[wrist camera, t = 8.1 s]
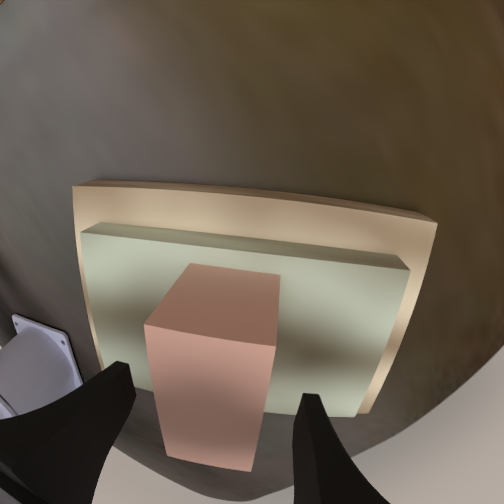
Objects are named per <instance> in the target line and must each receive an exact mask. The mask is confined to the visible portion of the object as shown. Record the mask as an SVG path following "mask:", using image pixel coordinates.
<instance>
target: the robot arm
mask: <svg viewBox="0 0 504 504" xmlns="http://www.w3.org/2000/svg"><path fill="white" fill-rule="evenodd" d="M12 319H13V322H14V325H15V328H16V331H17V335H16V336H15V337H14V338H13V339H12V340H11V341H10V342H9V343H7V344H6V345H5V346H4V347H3V348H2V349H1V350H0V504H92V500H93V496H94V492H95V488H96V485H97V482H98V479H99V476H100V473H101V470H102V468H103V465H104V462H105V460H106V457H107V455H108V453H109V451H110V449H111V447H112V445H113V443H114V442H115V440H116V438H117V436H118V434H119V432H120V431H121V429H122V427H123V425H124V423H125V421H126V420H127V418H128V416H129V414H130V411H131V409H132V406H133V403H134V401H135V398H136V392H135V388H134V384H133V379H132V375H131V371H130V366H129V364H128V363H124V362H121V361H115V362H114V363H112V364H111V365H110V366H108V367H107V368H105V369H104V370H103V371H101V372H100V373H98V374H97V375H96V376H94V377H93V378H91V379H90V380H88V381H87V382H85V383H84V384H83V382H82V379H81V376H80V374H79V371H78V368H77V365H76V362H75V359H74V356H73V353H72V349H71V346H70V343H69V339H68V336H67V335H66V333H64V332H62V331H59V330H56V329H54V328H51V327H48V326H45V325H42V324H40V323H37V322H34V321H32V320H29V319H27V318H24V317H22V316H19V315H17V314H14V315H13V316H12ZM292 448H293V469H294V504H390V503H389V502H388V501H387V500H386V499H384V498H383V497H382V496H381V495H380V493H379V492H378V491H377V490H376V489H375V488H374V487H373V486H372V485H371V484H370V483H369V482H368V481H367V479H366V478H365V477H364V476H363V474H362V473H361V472H360V471H359V469H358V468H357V467H356V465H355V464H354V462H353V461H352V459H351V458H350V456H349V455H348V453H347V452H346V450H345V448H344V447H343V445H342V443H341V441H340V440H339V438H338V436H337V434H336V432H335V430H334V428H333V426H332V424H331V422H330V420H329V417H328V415H327V413H326V411H325V408H324V406H323V403H322V400H321V398H320V395H319V394H313V393H303V394H302V398H301V401H300V404H299V408H298V411H297V414H296V417H295V421H294V427H293V442H292Z"/></svg>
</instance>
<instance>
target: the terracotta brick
mask: <svg viewBox="0 0 504 504" xmlns="http://www.w3.org/2000/svg"><path fill="white" fill-rule="evenodd" d="M279 292H280V275H278V274H270V273H262V272H255V271H247V270H239V269H232V268H224V267H217V266H209V265H202V264H195V263H190V264H189V265H188V266H187V267H186V269H185V270H184V271H183V273H182V274H181V275H180V277H179V278H178V279H177V280H176V282H175V283H174V284H173V286H172V287H171V288H170V290H169V291H168V292H167V294H166V295H165V296H164V298H163V299H162V300H161V302H160V303H159V304H158V306H157V307H156V308H155V310H154V311H153V312H152V314H151V315H150V316H149V318H148V319H147V320H146V322H145V323H144V331H145V339H146V347H147V354H148V361H149V368H150V374H151V380H152V386H153V392H154V397H155V402H156V408H157V413H158V418H159V422H160V427H161V431H162V436H163V440H164V444H165V449H166V453H167V456H171V457H175V458H179V459H183V460H187V461H191V462H196V463H201V464H206V465H211V466H216V467H222V468H228V469H234V470H241V471H249V472H251V469H252V464H253V460H254V456H255V451H256V446H257V442H258V437H259V432H260V428H261V423H262V418H263V413H264V408H265V403H266V398H267V393H268V388H269V383H270V377H271V372H272V367H273V361H274V356H275V350H276V341H277V326H278V310H279Z"/></svg>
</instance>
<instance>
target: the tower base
mask: <svg viewBox="0 0 504 504" xmlns="http://www.w3.org/2000/svg"><path fill="white" fill-rule="evenodd" d="M72 188H73V209H74V223H75V234H76V243H77V252H78V260H79V267H80V274H81V280H82V286H83V292H84V298H85V303H86V308H87V313H88V318H89V322H90V327H91V331H92V335H93V340H94V344H95V348H96V351H97V355H98V359H99V362H100V366H101V369H102V371H103V370H104V369H105V368H107V367H108V366H110V365H111V364H112V363H114V362H115V361H121V362H124V363H128V364H129V366H130V371H131V375H132V379H133V384H134V387H138V388H141V389H145V390H149V391H153V386H152V380H151V374H150V368H149V361H148V354H147V347H146V339H145V331H144V323H145V322H146V320H147V319H148V318H149V316H150V315H151V314H152V312H153V311H154V310H155V308H156V307H157V306H158V304H159V303H160V302H161V300H162V299H163V298H164V296H165V295H166V294H167V292H168V291H169V290H170V288H171V287H172V286H173V284H174V283H175V282H176V280H177V279H178V278H179V277H180V275H181V274H182V273H183V271H184V270H185V269H186V267H187V266H188V265H189V264H190V263H195V264H202V265H209V266H217V267H224V268H232V269H239V270H247V271H255V272H262V273H270V274H278V275H280V292H279V310H278V326H277V341H276V350H275V356H274V361H273V367H272V372H271V377H270V383H269V388H268V393H267V398H266V403H265V408H264V412H270V413H280V414H292V415H296V414H297V411H298V408H299V404H300V401H301V398H302V394H303V393H313V394H319V395H320V398H321V400H322V403H323V406H324V408H325V411H326V413H327V415H328V416H329V417H355V415H356V413H369V411H370V409H371V407H372V405H373V403H374V401H375V399H376V397H377V395H378V393H379V391H380V389H381V387H382V385H383V383H384V381H385V378H386V376H387V374H388V372H389V370H390V367H391V365H392V363H393V360H394V358H395V356H396V353H397V351H398V349H399V346H400V344H401V341H402V339H403V336H404V333H405V331H406V328H407V326H408V323H409V320H410V317H411V315H412V312H413V309H414V306H415V303H416V300H417V297H418V294H419V291H420V288H421V284H422V281H423V278H424V274H425V271H426V267H427V264H428V260H429V256H430V253H431V249H432V245H433V241H434V237H435V232H436V228H437V223H436V222H435V221H433V220H431V219H430V218H428V217H426V216H425V215H423V214H421V213H419V212H415V211H409V210H404V209H398V208H393V207H387V206H381V205H375V204H369V203H362V202H356V201H349V200H343V199H336V198H328V197H321V196H313V195H305V194H297V193H289V192H280V191H271V190H261V189H251V188H240V187H229V186H217V185H204V184H189V183H172V182H151V181H123V180H94V181H90V182H86V183H82V184H79V185H75V186H72Z"/></svg>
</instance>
